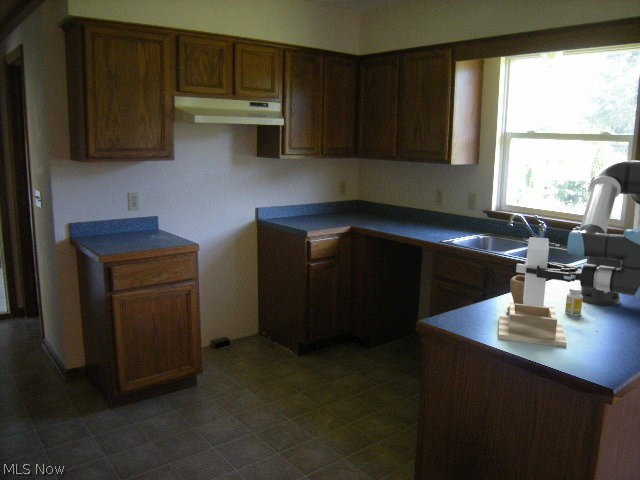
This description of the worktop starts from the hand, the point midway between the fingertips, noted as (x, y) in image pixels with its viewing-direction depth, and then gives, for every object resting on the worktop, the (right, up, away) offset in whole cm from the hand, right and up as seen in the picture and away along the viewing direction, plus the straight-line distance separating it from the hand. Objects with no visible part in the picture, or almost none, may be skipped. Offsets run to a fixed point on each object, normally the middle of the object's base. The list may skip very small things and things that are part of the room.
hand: (521, 265), depth 179 cm
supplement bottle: (+27, -19, +22) cm, 40 cm away
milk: (+4, -13, -1) cm, 13 cm away
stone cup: (+9, -19, +19) cm, 29 cm away
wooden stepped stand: (+3, -22, +1) cm, 23 cm away
